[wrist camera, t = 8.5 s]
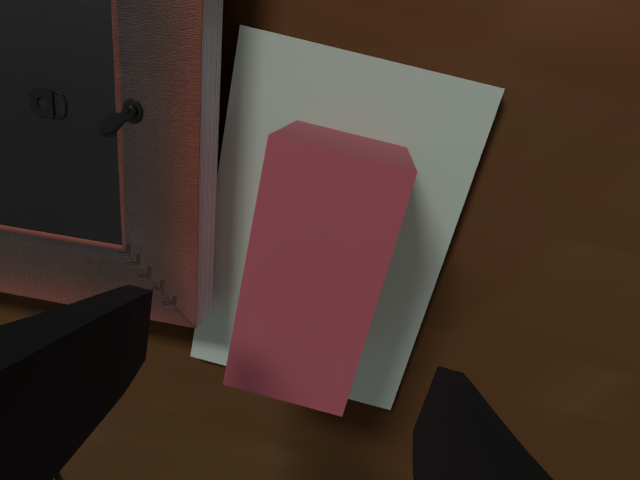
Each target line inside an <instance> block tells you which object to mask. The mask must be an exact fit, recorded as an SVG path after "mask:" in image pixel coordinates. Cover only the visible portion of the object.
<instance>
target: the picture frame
mask: <svg viewBox="0 0 640 480" xmlns="http://www.w3.org/2000/svg"><path fill="white" fill-rule="evenodd" d="M222 23H223V0H0V292H2V293H8V294H13V295H18V296H24V297H29V298H34V299H40V300H45V301H50V302H56V303H61V304H67V305H68V304H71V303H74V302H77V301H80V300H83V299H86V298H89V297H91V296H94V295H97V294H100V293H103V292H106V291H109V290H112V289H115V288H118V287H122V286H126V285H133V286H137V287H141V288H144V289H148V290H152V291H153V295H152V305H151V314H150V320H152V321H158V322H163V323H168V324H174V325H179V326H184V327H190V328H195V329H196V328H197V327H198V325H199V324H200V323H201V322H202V320H203V319H204V318H205V317H206V315H207V314H208V313H209V312H210V310H211V309H212V304H213V277H214V248H215V219H216V191H217V163H218V135H219V107H220V79H221V51H222Z"/></svg>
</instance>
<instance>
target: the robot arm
mask: <svg viewBox="0 0 640 480" xmlns="http://www.w3.org/2000/svg"><path fill="white" fill-rule="evenodd" d="M152 295H153V291H152V290H148V289H144V288H141V287H137V286H133V285H126V286H122V287H118V288H115V289H112V290H109V291H106V292H103V293H100V294H97V295H94V296H91V297H89V298H86V299H83V300H80V301H77V302H74V303H71V304H68V305H65V306H62V307H59V308H56V309H53V310H50V311H47V312H44V313H40V314H37V315H34V316H30V317H27V318H24V319H20V320H17V321H14V322H10V323H7V324H4V325H0V480H55V477H56V475H57V474H58V473H59V472H60V470H61V469H62V468H63V467H64V465H65V464H66V463H67V462H68V461H69V459H70V458H71V457H72V456H73V455H74V453H75V452H76V451H77V450H78V449H79V447H80V446H81V445H82V444H83V443H84V441H85V440H86V439H87V438H88V437H89V435H90V434H91V433H92V432H93V431H94V429H95V428H96V427H97V426H98V425H99V423H100V422H101V421H102V420H103V419H104V417H105V416H106V415H107V414H108V412H109V411H110V410H111V409H112V408H113V406H114V405H115V404H116V403H117V402H118V400H119V399H120V398H121V397H122V395H123V394H124V393H125V391H126V390H127V388H128V387H129V385H130V384H131V382H132V380H133V379H134V377H135V376H136V374H137V372H138V371H139V369H140V367H141V366H142V364H143V363H144V361H145V359H146V351H147V342H148V333H149V323H150V314H151V305H152ZM413 478H414V480H553V479H552V478H551V477H550V476H549V475H548V474H547V472H546V471H545V470H544V469H543V468H542V467H541V466H540V465H539V464H538V463H537V461H536V460H535V459H534V458H533V457H532V456H531V455H530V454H529V453H528V451H527V450H526V449H525V448H524V447H523V446H522V444H521V443H520V442H519V441H518V440H517V439H516V437H515V436H514V435H513V434H512V433H511V431H510V430H509V429H508V428H507V427H506V425H505V424H504V423H503V422H502V420H501V419H500V418H499V417H498V415H497V414H496V413H495V412H494V410H493V409H492V408H491V407H490V405H489V404H488V403H487V402H486V400H485V399H484V398H483V396H482V395H481V394H480V393H479V391H478V390H477V389H476V388H475V386H474V385H473V384H472V383H471V381H470V380H469V379H468V378H467V377H466V376H465V375H464V373H462V372H458V371H454V370H450V369H447V368H443V367H439V366H438V368H437V370H436V373H435V376H434V378H433V381H432V383H431V386H430V388H429V391H428V394H427V396H426V399H425V401H424V404H423V407H422V409H421V412H420V414H419V417H418V420H417V422H416V425H415V427H414V430H413Z"/></svg>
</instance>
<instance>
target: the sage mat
mask: <svg viewBox="0 0 640 480" xmlns="http://www.w3.org/2000/svg"><path fill="white" fill-rule="evenodd" d="M504 90H505V89H503V88H499V87H495V86H491V85H487V84H482V83H478V82H474V81H470V80H466V79H462V78H458V77H454V76H450V75H445V74H441V73H437V72H433V71H429V70H425V69H421V68H417V67H412V66H408V65H404V64H400V63H396V62H392V61H388V60H384V59H380V58H375V57H371V56H367V55H363V54H359V53H355V52H351V51H347V50H342V49H338V48H334V47H330V46H326V45H322V44H318V43H314V42H310V41H305V40H301V39H297V38H293V37H289V36H285V35H281V34H277V33H272V32H268V31H264V30H260V29H256V28H252V27H248V26H244V25H240V28H239V35H238V41H237V48H236V55H235V61H234V68H233V75H232V82H231V88H230V95H229V102H228V108H227V115H226V122H225V128H224V135H223V142H222V149H221V155H220V162H219V169H218V175H217V191H216V219H215V248H214V277H213V304H212V309H211V310H210V312H209V313H208V314H207V315H206V317H205V318H204V319H203V320H202V322H201V323H200V324H199V325H198V327H197V328H196V329H195V330H194V336H193V343H192V350H191V357H195V358H199V359H202V360H206V361H210V362H213V363H217V364H221V365H225V366H226V364H227V359H228V353H229V348H230V342H231V337H232V331H233V326H234V320H235V315H236V310H237V304H238V299H239V293H240V288H241V282H242V277H243V271H244V266H245V260H246V255H247V249H248V244H249V238H250V233H251V227H252V222H253V216H254V211H255V205H256V200H257V194H258V189H259V183H260V178H261V172H262V167H263V161H264V156H265V150H266V145H267V139H268V135H269V134H271V133H273V132H275V131H277V130H279V129H281V128H283V127H285V126H287V125H288V124H290V123H292V122H294V121H296V120H299V121H303V122H307V123H311V124H315V125H319V126H323V127H327V128H331V129H335V130H339V131H343V132H347V133H351V134H355V135H360V136H364V137H368V138H372V139H376V140H380V141H384V142H388V143H392V144H396V145H400V146H404V147H407V149H408V151H409V153H410V156H411V158H412V160H413V163H414V165H415V167H416V170H417V175H416V179H415V182H414V185H413V188H412V192H411V195H410V198H409V201H408V205H407V208H406V211H405V214H404V218H403V221H402V224H401V227H400V231H399V234H398V237H397V240H396V244H395V247H394V250H393V253H392V257H391V260H390V263H389V266H388V270H387V273H386V276H385V279H384V283H383V286H382V289H381V292H380V296H379V299H378V302H377V305H376V309H375V312H374V315H373V319H372V322H371V325H370V328H369V332H368V335H367V338H366V341H365V345H364V348H363V351H362V354H361V358H360V361H359V364H358V367H357V371H356V374H355V377H354V380H353V384H352V387H351V390H350V393H349V397H348V399H351V400H354V401H358V402H362V403H366V404H369V405H373V406H377V407H380V408H384V409H388V410H391V407H392V404H393V402H394V399H395V396H396V393H397V390H398V388H399V385H400V382H401V379H402V376H403V374H404V371H405V368H406V365H407V362H408V360H409V357H410V354H411V351H412V348H413V345H414V343H415V340H416V337H417V334H418V331H419V329H420V326H421V323H422V320H423V317H424V315H425V312H426V309H427V306H428V303H429V301H430V298H431V295H432V292H433V289H434V286H435V284H436V281H437V278H438V275H439V272H440V270H441V267H442V264H443V261H444V258H445V256H446V253H447V250H448V247H449V244H450V241H451V239H452V236H453V233H454V230H455V227H456V225H457V222H458V219H459V216H460V213H461V211H462V208H463V205H464V202H465V199H466V197H467V194H468V191H469V188H470V185H471V182H472V180H473V177H474V174H475V171H476V168H477V166H478V163H479V160H480V157H481V154H482V152H483V149H484V146H485V143H486V140H487V137H488V135H489V132H490V129H491V126H492V123H493V121H494V118H495V115H496V112H497V109H498V107H499V104H500V101H501V98H502V95H503V93H504Z"/></svg>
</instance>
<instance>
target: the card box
mask: <svg viewBox="0 0 640 480" xmlns="http://www.w3.org/2000/svg"><path fill="white" fill-rule="evenodd" d="M416 175H417V170H416V167H415V165H414V163H413V160H412V158H411V156H410V153H409V151H408V149H407V147H404V146H400V145H396V144H392V143H388V142H384V141H380V140H376V139H372V138H368V137H364V136H360V135H355V134H351V133H347V132H343V131H339V130H335V129H331V128H327V127H323V126H319V125H315V124H311V123H307V122H303V121H299V120H296V121H294V122H292V123H290V124H288V125H287V126H285V127H283V128H281V129H279V130H277V131H275V132H273V133H271V134H269V135H268V139H267V145H266V150H265V156H264V161H263V167H262V172H261V178H260V183H259V189H258V194H257V200H256V205H255V211H254V216H253V222H252V227H251V233H250V238H249V244H248V249H247V255H246V260H245V266H244V271H243V277H242V282H241V288H240V293H239V299H238V304H237V310H236V315H235V320H234V326H233V331H232V337H231V342H230V348H229V353H228V359H227V364H226V370H225V375H224V381H223V385H226V386H230V387H234V388H237V389H241V390H245V391H248V392H252V393H256V394H259V395H263V396H267V397H271V398H274V399H278V400H282V401H285V402H289V403H293V404H297V405H300V406H304V407H308V408H311V409H315V410H319V411H323V412H326V413H330V414H334V415H337V416H341V417H342V416H343V413H344V410H345V406H346V403H347V400H348V397H349V393H350V390H351V387H352V384H353V380H354V377H355V374H356V371H357V367H358V364H359V361H360V358H361V354H362V351H363V348H364V345H365V341H366V338H367V335H368V332H369V328H370V325H371V322H372V319H373V315H374V312H375V309H376V305H377V302H378V299H379V296H380V292H381V289H382V286H383V283H384V279H385V276H386V273H387V270H388V266H389V263H390V260H391V257H392V253H393V250H394V247H395V244H396V240H397V237H398V234H399V231H400V227H401V224H402V221H403V218H404V214H405V211H406V208H407V205H408V201H409V198H410V195H411V192H412V188H413V185H414V182H415V179H416Z"/></svg>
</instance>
